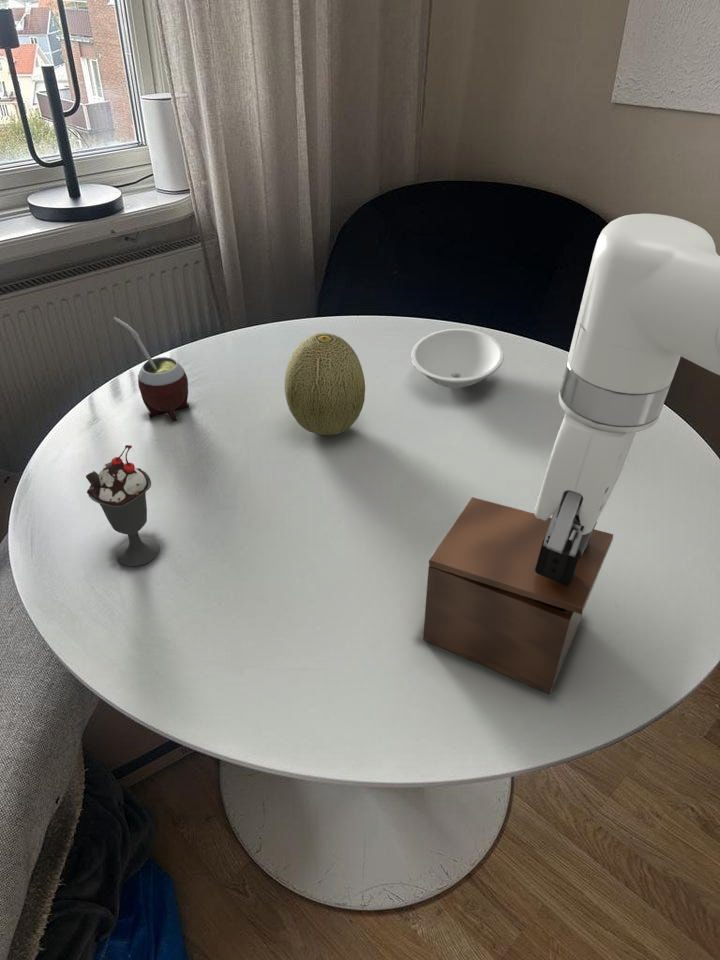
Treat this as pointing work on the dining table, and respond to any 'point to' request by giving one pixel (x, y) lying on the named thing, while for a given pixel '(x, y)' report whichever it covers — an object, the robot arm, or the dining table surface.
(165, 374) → the mate gourd
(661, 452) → the dining table surface
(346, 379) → the fruit
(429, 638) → the chest
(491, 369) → the dish
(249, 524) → the dining table surface
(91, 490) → the sundae
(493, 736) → the dining table surface
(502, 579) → the lid
